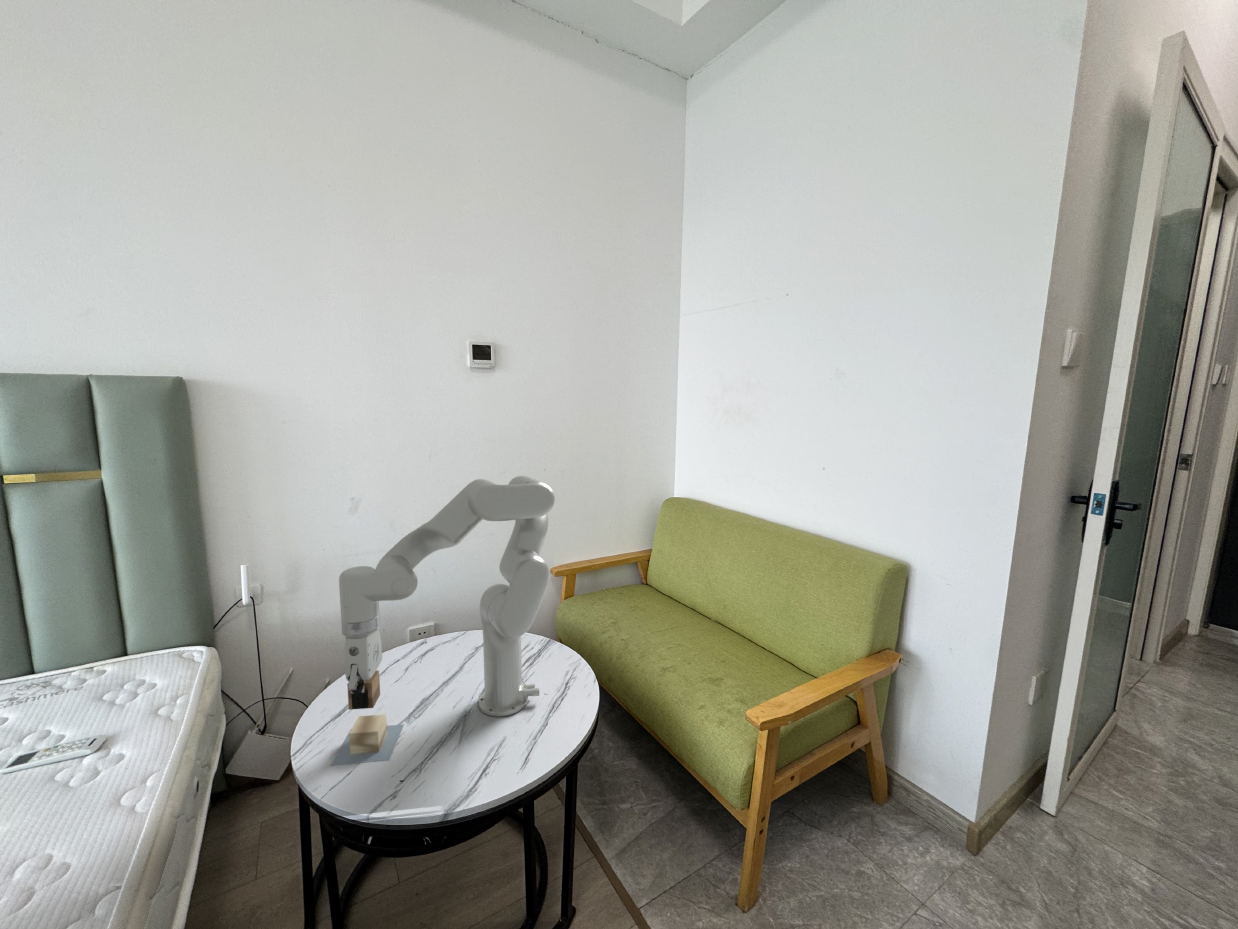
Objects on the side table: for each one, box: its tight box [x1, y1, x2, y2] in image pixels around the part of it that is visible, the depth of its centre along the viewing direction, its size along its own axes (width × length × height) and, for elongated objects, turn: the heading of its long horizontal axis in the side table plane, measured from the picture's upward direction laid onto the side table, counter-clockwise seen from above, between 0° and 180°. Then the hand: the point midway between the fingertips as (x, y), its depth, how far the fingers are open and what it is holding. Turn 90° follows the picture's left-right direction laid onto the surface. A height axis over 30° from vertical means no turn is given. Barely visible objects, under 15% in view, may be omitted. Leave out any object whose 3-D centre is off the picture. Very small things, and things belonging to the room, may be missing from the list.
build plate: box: [330, 723, 405, 767], centre depth 115 cm, size 12×12×1 cm
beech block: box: [348, 713, 388, 754], centre depth 114 cm, size 6×6×5 cm
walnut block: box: [347, 670, 381, 711], centre depth 113 cm, size 5×5×6 cm
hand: (364, 699), depth 113 cm, fingers closed on walnut block, 5 cm apart
